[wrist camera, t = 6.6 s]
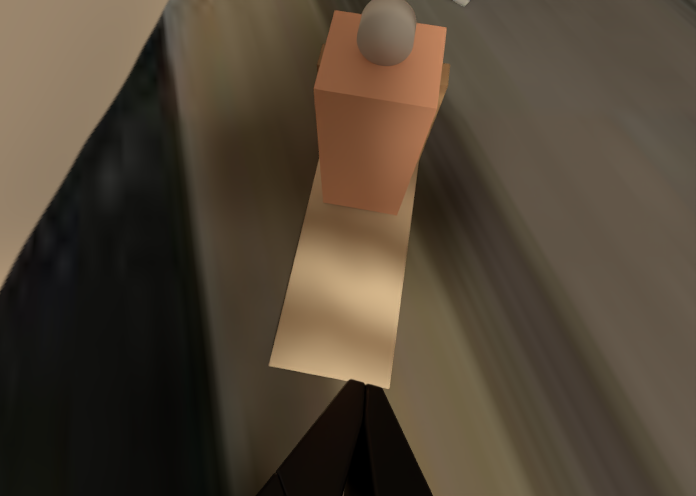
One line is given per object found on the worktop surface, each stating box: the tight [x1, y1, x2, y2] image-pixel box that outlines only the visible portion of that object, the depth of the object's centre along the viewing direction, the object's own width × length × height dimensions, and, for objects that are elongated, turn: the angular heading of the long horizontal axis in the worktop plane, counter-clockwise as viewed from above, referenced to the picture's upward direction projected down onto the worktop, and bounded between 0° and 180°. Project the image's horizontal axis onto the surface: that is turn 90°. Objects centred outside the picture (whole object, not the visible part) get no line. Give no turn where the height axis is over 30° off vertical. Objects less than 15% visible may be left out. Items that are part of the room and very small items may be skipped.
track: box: [269, 44, 450, 389], centre depth 20 cm, size 17×7×8 cm, turn 170°
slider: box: [314, 0, 447, 215], centre depth 18 cm, size 4×5×12 cm
